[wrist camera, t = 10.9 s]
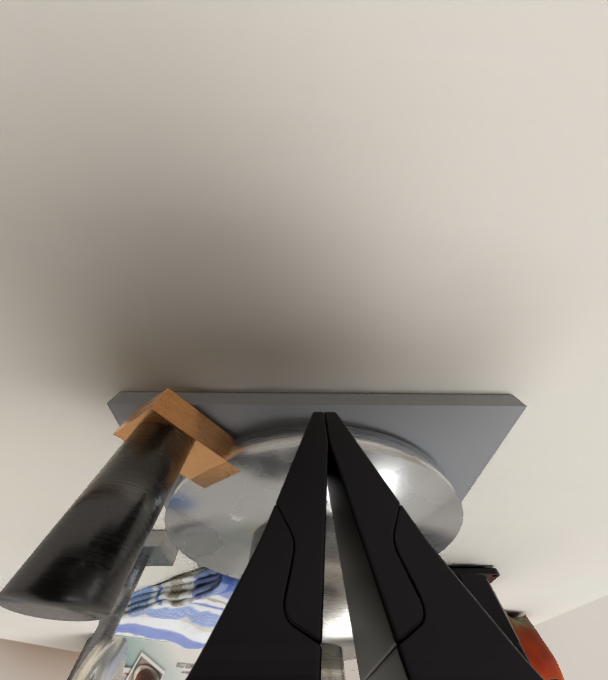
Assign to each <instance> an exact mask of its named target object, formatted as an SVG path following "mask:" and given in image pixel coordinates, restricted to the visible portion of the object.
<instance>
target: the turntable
mask: <svg viewBox="0 0 608 680" xmlns="http://www.w3.org/2000/svg"><path fill="white" fill-rule="evenodd" d="M306 427H307V425H298V426H289V427H281V428H274V429H269V430H264V431H259V432H255V433H251V434H248V435H245V436H242V437H239V438H236V439H234V438H233V437H232V436H230V435H229V434H228V433H227V432H225V431H224V430H223V429H221V428H220V427H219V426H217V425H216V424H215V423H214V422H212V421H211V420H210V419H208V418H207V417H206V416H205V415H203V414H202V413H201V412H199V411H198V410H197V409H195V408H194V407H193V406H192V405H190V404H189V403H188V402H186V401H185V400H184V399H183V398H181V397H180V396H179V395H177V394H176V393H175V392H173V391H172V390H171V389H170V388H167V389H166V390H164V391H163V392H161V393H160V394H158V395H157V396H156V397H154V398H153V399H151V400H150V401H148V402H147V403H145V404H144V405H143V406H141V407H140V408H138V409H137V410H135V411H134V412H133V413H132V414H131V415H130V416H129V417H128V418H127V419H126V421H125V422H124V423H123V424H122V425H121V426H120V427H119V428H118V429H117V431H116V432H115V433H114V435H116V436H117V437H119V438H121V439H122V440H124V441H125V442H124V443H123V444H122V445H121V446H120V448H119V449H118V450H117V451H116V452H115V454H114V455H113V456H112V457H111V459H110V460H109V461H108V462H107V463H106V465H105V466H104V467H103V468H102V469H101V471H100V472H99V473H98V474H97V476H96V477H95V478H94V479H93V480H92V482H91V483H90V484H89V485H88V486H87V488H86V489H85V490H84V491H83V493H82V494H81V495H80V496H79V497H78V499H77V500H76V501H75V502H74V503H73V505H72V506H71V507H70V508H69V510H68V511H67V512H66V513H65V514H64V516H63V517H62V518H61V519H60V520H59V522H58V523H57V524H56V525H55V527H54V528H53V529H52V530H51V531H50V533H49V534H48V535H47V536H46V537H45V539H44V540H43V541H42V542H41V544H40V545H39V546H38V547H37V548H36V550H35V551H34V552H33V553H32V554H31V556H30V557H29V558H28V559H27V561H26V562H25V563H24V564H23V565H22V567H21V568H20V569H19V570H18V571H17V573H16V574H15V575H14V576H13V578H12V579H11V580H10V581H9V582H8V584H7V585H6V586H5V587H4V588H3V590H2V591H1V592H0V606H2V607H3V608H6V609H8V610H11V611H13V612H17V613H20V614H24V615H28V616H33V617H38V618H44V619H52V620H62V621H92V620H99V619H103V618H106V617H108V616H109V614H110V612H111V610H112V608H113V606H114V604H115V602H116V600H117V598H118V596H119V594H120V592H121V590H122V588H123V586H124V584H125V582H126V580H127V578H128V576H129V574H130V572H131V570H132V568H133V566H134V564H135V562H136V560H137V558H138V556H139V554H140V552H141V550H142V548H143V546H144V544H145V542H146V540H147V538H148V536H149V534H150V532H151V530H152V528H153V526H154V524H155V522H156V520H157V518H158V516H159V514H160V512H161V510H162V508H163V506H164V503H165V501H166V499H167V497H168V495H169V493H170V491H171V489H172V487H173V485H174V483H175V481H176V479H177V477H178V475H179V474H181V475H183V476H182V477H181V480H180V482H179V484H178V486H177V488H176V490H175V492H174V494H173V496H172V498H171V500H170V502H169V505H168V507H167V509H166V513H165V527H166V531H167V533H168V535H169V538H170V539H171V541H172V542H173V543H174V545H175V546H176V547H177V548H178V549H179V550H180V551H181V552H182V553H183V554H185V555H186V556H187V557H189V558H190V559H191V560H193V561H195V562H197V563H198V564H200V565H202V566H204V567H206V568H208V569H210V570H213V571H215V572H218V573H221V574H223V575H226V576H230V577H233V578H237V579H240V578H241V576H242V574H243V572H244V571H245V569H246V567H247V565H248V561H249V554H250V548H251V542H252V537H253V534H254V532H255V531H256V530H257V528H259V527H260V526H261V525H263V524H264V523H266V522H268V520H269V517H270V515H271V512H272V510H273V508H274V506H275V505H276V501H277V498H278V496H279V493H280V491H281V488H282V486H283V484H284V481H285V479H286V476H287V474H288V471H289V469H290V466H291V464H292V461H293V459H294V457H295V454H296V452H297V449H298V447H299V444H300V442H301V439H302V437H303V435H304V432H305V430H306ZM346 427H347V428H348V430H349V431H350V433H351V434H352V435H353V437H354V438H355V440H356V441H357V442H358V444H359V445H360V447H361V448H362V450H363V451H364V452H365V454H366V455H367V457H368V458H369V459H370V461H371V462H372V464H373V465H374V466H375V468H376V469H377V471H378V472H379V474H380V475H381V476H382V478H383V479H384V481H385V482H386V483H387V485H388V486H389V488H390V489H391V490H392V492H393V493H394V495H395V496H396V497H397V499H398V500H399V502H400V505H402V506H403V507H404V509H405V510H406V511H407V513H408V514H409V516H410V517H411V519H412V520H413V521H414V523H415V524H416V525H417V527H418V528H419V529H420V531H421V532H422V533H423V535H424V536H425V537H426V539H427V540H428V542H429V543H430V544H431V545H432V547H433V548H434V549H435V550H436V552H437V553H438V554H439V553H440V552H441V551H442V550H444V549H445V548H446V547H447V546H448V545H449V544H450V543H451V542H452V541H453V540H454V538H455V537H456V535H457V534H458V532H459V530H460V527H461V525H462V520H463V509H462V504H461V502H460V500H459V498H458V496H457V494H456V492H455V490H454V489H453V487H452V485H451V484H450V482H449V480H448V478H447V477H446V475H445V473H444V471H443V470H442V469H441V468H440V466H439V465H438V464H437V463H436V462H435V461H434V460H433V459H432V458H431V457H429V456H428V455H427V454H426V453H424V452H423V451H421V450H420V449H418V448H416V447H414V446H413V445H411V444H409V443H407V442H405V441H402V440H400V439H397V438H395V437H392V436H389V435H386V434H382V433H378V432H375V431H371V430H366V429H360V428H354V427H348V426H346ZM326 515H328V516H332V510H331V504H330V498H329V492H328V486H327V508H326Z"/></svg>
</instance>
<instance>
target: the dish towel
mask: <svg viewBox="0 0 608 680" xmlns="http://www.w3.org/2000/svg"><path fill="white" fill-rule="evenodd" d="M239 580H240V579H237V578H233V577H230V576H226V575H223V574H221V573H218V572H215V571H213V570H210V569H208V568H204V569H201V570H198V571H194V572H190V573H187V574H184V575H181V576H179V577H177V578H175V579H173V580H170V581H168V582H165V583H162V584H159V585H156V586H150V587H147V588H144V589H142V590H139V591H137V592H134V593H133V594H132V597H131V599H130V601H129V603H128V605H127V607H126V610H125V612H124V614H123V616H122V618H121V620H120V623H119V625H118V627H117V629H116V631H115V633H125V634H130V635H134V636H141V637H144V638H147V639H151V640H164V641H168V642H171V643H174V644H176V645H178V646H180V647H181V648H184V649H192V650H196V649H201V648H204V646H205V644H206V642H207V640H208V638H209V636H210V635H211V633H212V631H213V629H214V627H215V625H216V623H217V621H218V619H219V618H220V616H221V614H222V612H223V610H224V608H225V606H226V604H227V603H228V601H229V599H230V597H231V595H232V593H233V591H234V589H235V587H236V586H237V584H238V582H239ZM100 621H101V619H100V620H99V623H100Z"/></svg>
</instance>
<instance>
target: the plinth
mask: <svg viewBox="0 0 608 680" xmlns="http://www.w3.org/2000/svg"><path fill="white" fill-rule="evenodd" d="M160 393H161V392H119V393H118V394H117V395H116V396H115V397H114V398H113V399H112V400H111V401H109V402H108V403H107V404H108V406H109V408H110V410H111V411H112V413H113V415H114V417H115V419H116V420H117V422H118V424H119V426H121V425H122V424H123V423H124V422H125V421H126V419H127V418H128V417H129V416H130V415H131V414H132V413H133V412H134V411H135V410H137V409H138V408H140V407H141V406H143V405H144V404H145V403H147V402H148V401H150V400H151V399H153V398H154V397H156V396H157V395H158V394H160ZM175 393H176V394H177V395H179V396H180V397H181V398H183V399H184V400H185V401H186V402H188V403H189V404H190V405H192V406H193V407H194V408H195V409H197V410H198V411H199V412H201V413H202V414H203V415H205V416H206V417H207V418H208V419H210V420H211V421H212V422H214V423H215V424H216V425H217V426H219V427H220V428H221V429H223V430H224V431H225V432H227V433H228V434H229V435H230V436H232V437H233V438H234V439H236V438H239V437H242V436H245V435H248V434H251V433H255V432H259V431H264V430H269V429H274V428H281V427H289V426H298V425H308V422H309V420H310V417H311V415H312V413H313V412H314V411H322V412H324V413H325V412H326V411H334V412H336V413H337V414H338V416H339V417H340V418H341V420H342V421H343V423H344V424H345V426H348V427H354V428H360V429H366V430H371V431H375V432H378V433H382V434H386V435H389V436H392V437H395V438H397V439H400V440H402V441H405V442H407V443H409V444H411V445H413V446H414V447H416V448H418V449H420V450H421V451H423V452H424V453H426V454H427V455H428V456H429V457H431V458H432V459H433V460H434V461H435V462H436V463H437V464H438V465H439V466H440V468H441V469H442V470H443V471H444V473H445V475H446V477H447V478H448V480H449V482H450V484H451V485H452V487H453V489H454V490H455V492H456V494H457V496H458V498H459V500H460V502H462V500H463V499H464V497H465V496H466V494H467V493H468V492H469V490H470V489H471V487H472V486H473V484H474V483H475V481H476V480H477V478H478V477H479V475H480V474H481V473H482V471H483V470H484V468H485V467H486V465H487V464H488V462H489V461H490V459H491V458H492V456H493V455H494V453H495V452H496V451H497V449H498V448H499V446H500V445H501V443H502V442H503V440H504V439H505V437H506V436H507V434H508V433H509V432H510V430H511V429H512V427H513V426H514V424H515V423H516V421H517V420H518V418H519V417H520V415H521V414H522V412H523V411H524V410H525V408H526V407H527V406H526V405H525V404H523V403H522V402H521V401H520V400H518V399H517V398H516V397H515V396H513V395H480V394H337V393H195V392H175ZM182 476H183V475H181V474H179V475H178V477H177V479H176V481H175V483H174V485H173V487H172V489H171V491H170V493H169V495H168V497H167V499H166V501H165V503H164V506H165V508H166V509H167V507H168V505H169V502H170V500H171V498H172V496H173V494H174V492H175V490H176V488H177V486H178V484H179V482H180V480H181V477H182ZM196 563H197V562H196ZM197 564H198V563H197ZM198 566H199V567H204V566H202V565H200V564H198Z"/></svg>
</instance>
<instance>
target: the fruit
mask: <svg viewBox="0 0 608 680" xmlns="http://www.w3.org/2000/svg"><path fill="white" fill-rule="evenodd" d="M504 612H505V613H506V615H507V612H506V610H504ZM507 617H508V619H509V621H510V623H511V625H512V627H513V629H514V631H515V633H516V634H517V636H518V638H519V640H520V643H521V646H522V648H523V650H524V652H525V653H526V655H527V657H528V659H529V661H530V663H531V665H532V667H533V668H534V669H535V670H536V671H537V672H538V673H539V674H540V675H541V676H542V677H543V678H544V679H545V680H550V679H556V678H557V679H558V680H564V678H563V675H562V673H561V670H560V668H559V666H558V664H557V662H556V660H555V658H554V656H553V655H552V653H551V652H550V650H549V649H548V647H547V646H546V644H545V643H544V641H543V640H542V638H541V637H540V635H539V634H538V632H537V631H536V629H535V628H534V626H533V625H532V624H531V622H530V621H529V619H528V618H527V617H526V615H525V616H522V617H509V616H508V615H507Z"/></svg>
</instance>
